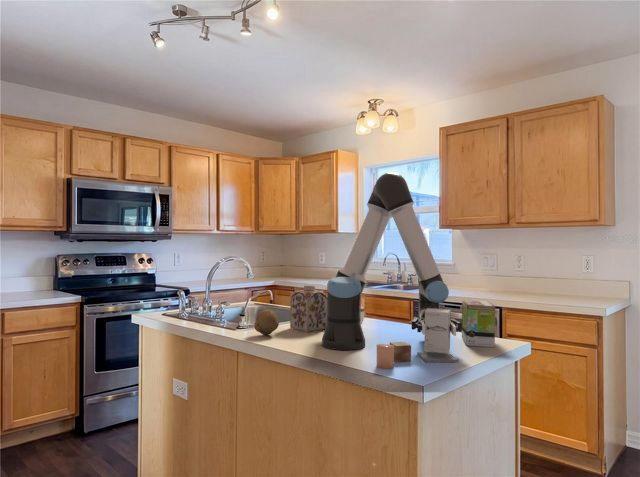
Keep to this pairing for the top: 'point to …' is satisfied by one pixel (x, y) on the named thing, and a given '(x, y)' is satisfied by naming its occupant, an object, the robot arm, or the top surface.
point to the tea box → (478, 323)
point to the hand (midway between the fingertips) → (439, 330)
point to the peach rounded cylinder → (385, 356)
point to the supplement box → (437, 330)
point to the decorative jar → (308, 309)
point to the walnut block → (401, 351)
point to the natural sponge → (266, 322)
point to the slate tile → (437, 357)
